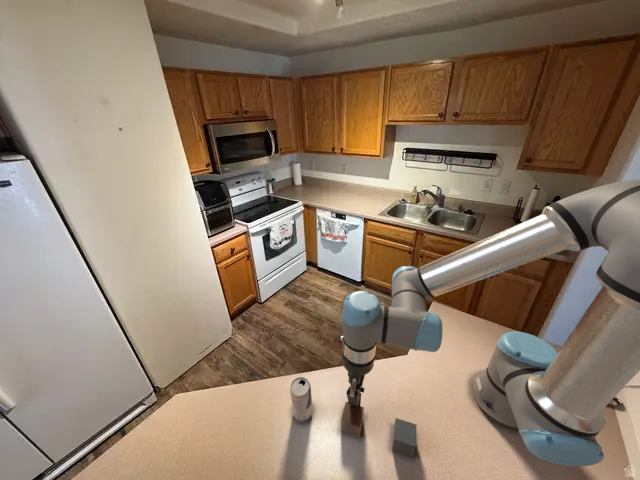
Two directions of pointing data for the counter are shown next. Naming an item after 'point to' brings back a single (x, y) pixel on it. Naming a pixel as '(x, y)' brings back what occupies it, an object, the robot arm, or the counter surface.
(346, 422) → the walnut block
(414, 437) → the grey block
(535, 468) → the counter surface
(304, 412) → the energy drink
